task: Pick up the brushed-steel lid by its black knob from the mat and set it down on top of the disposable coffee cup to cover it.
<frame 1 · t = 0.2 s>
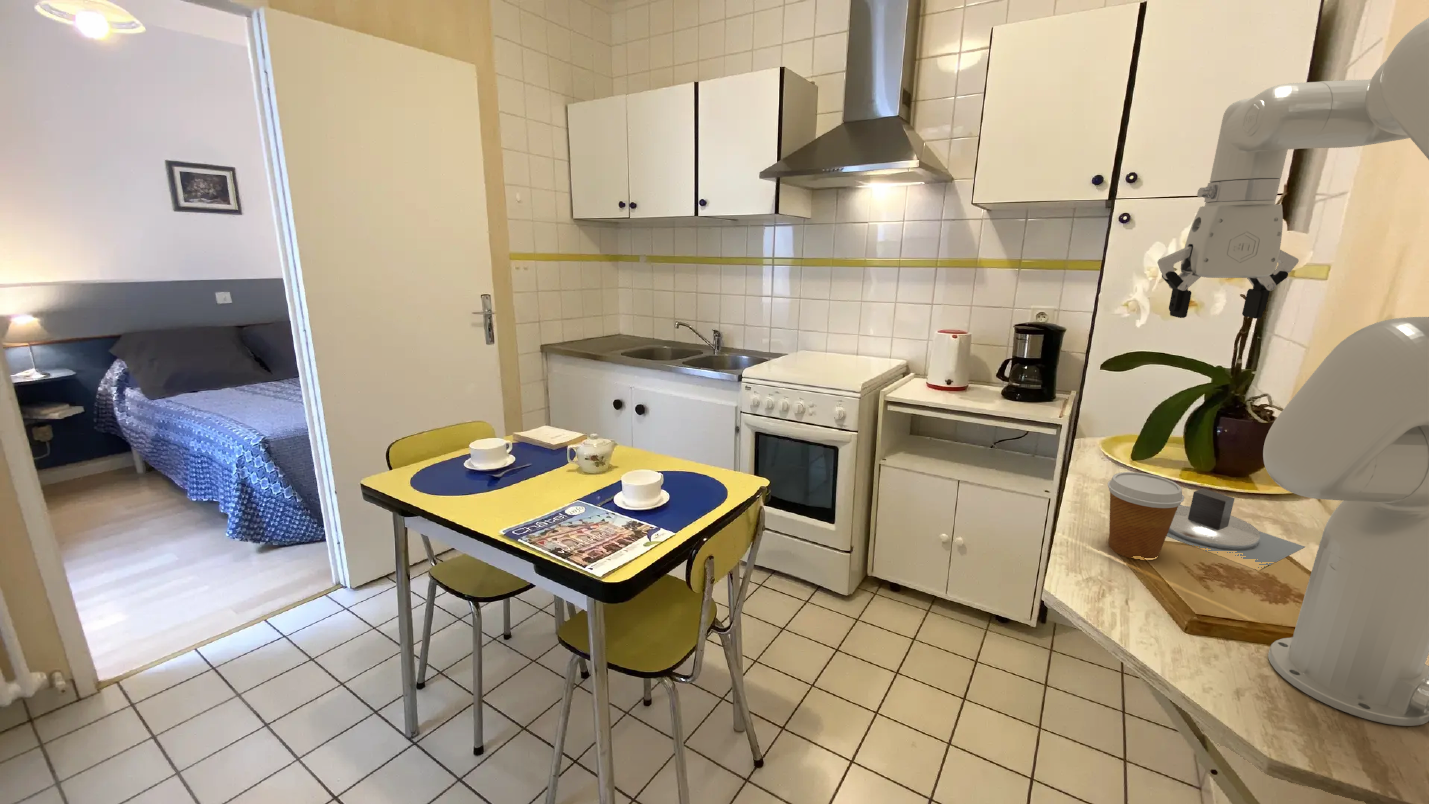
hand: (1214, 317, 87), 36 cm above the counter, tool pointing down, fingers open, 9 cm apart
mat: (1204, 534, 98), on the counter
disposable coffee cup: (1132, 554, 92), on the counter
lid: (1205, 530, 98), point 1 cm above the counter, touching mat
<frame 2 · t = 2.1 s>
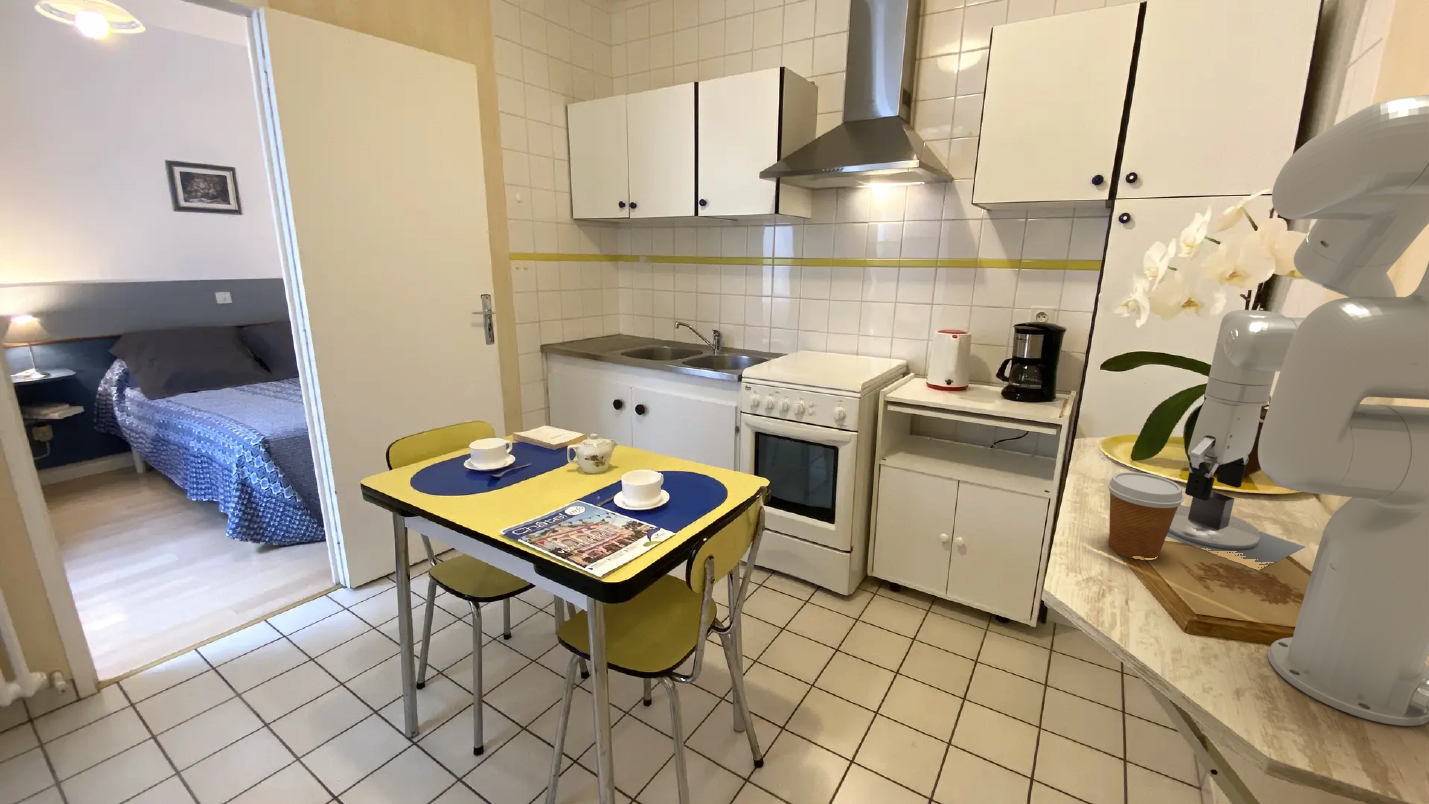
hand: (1212, 490, 97), 8 cm above the counter, tool pointing down, fingers open, 9 cm apart
nothing on the counter moved.
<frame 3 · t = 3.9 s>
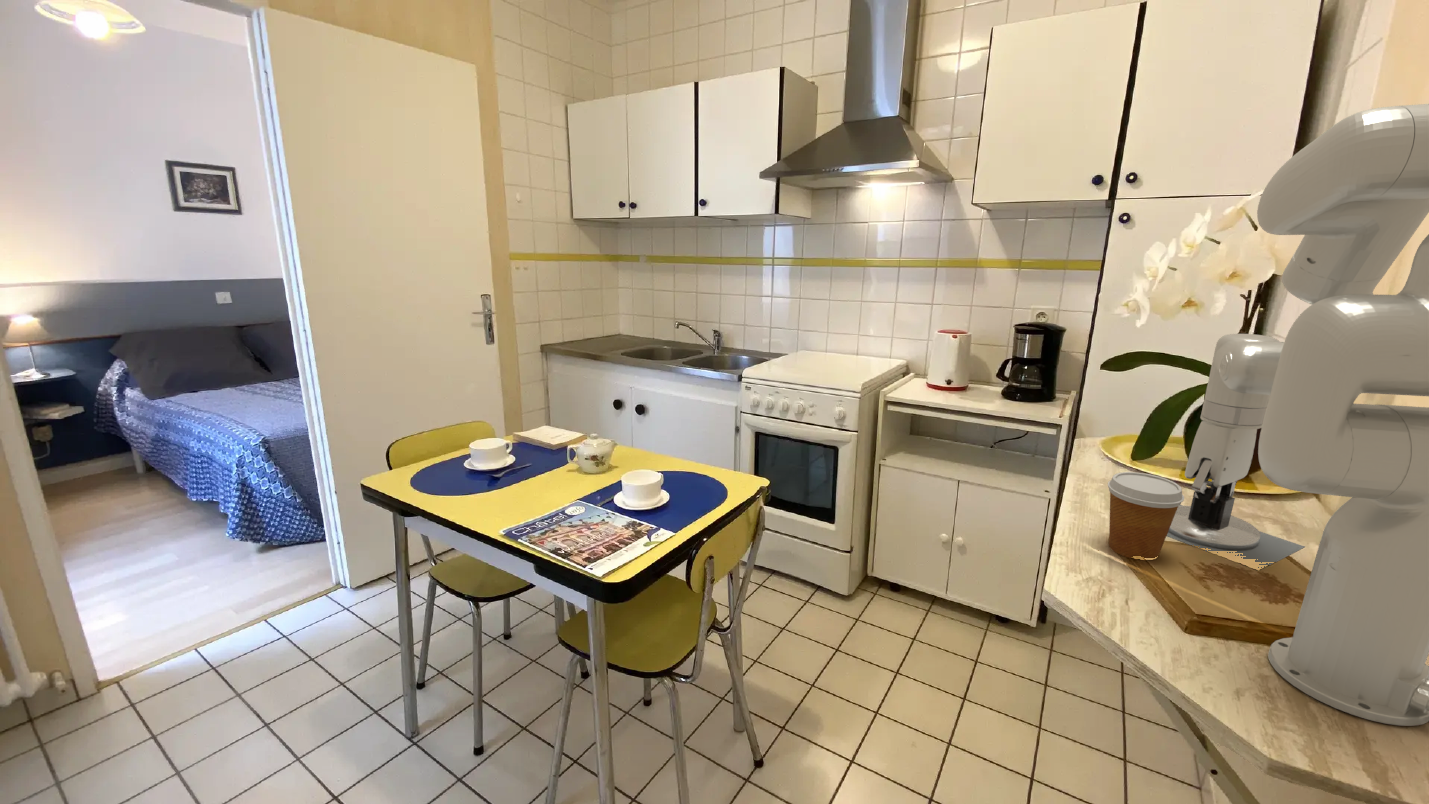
hand: (1208, 518, 97), 3 cm above the counter, tool pointing down, fingers closed on lid, 2 cm apart
lid: (1205, 530, 98), point 1 cm above the counter, touching gripper
everything else where it was.
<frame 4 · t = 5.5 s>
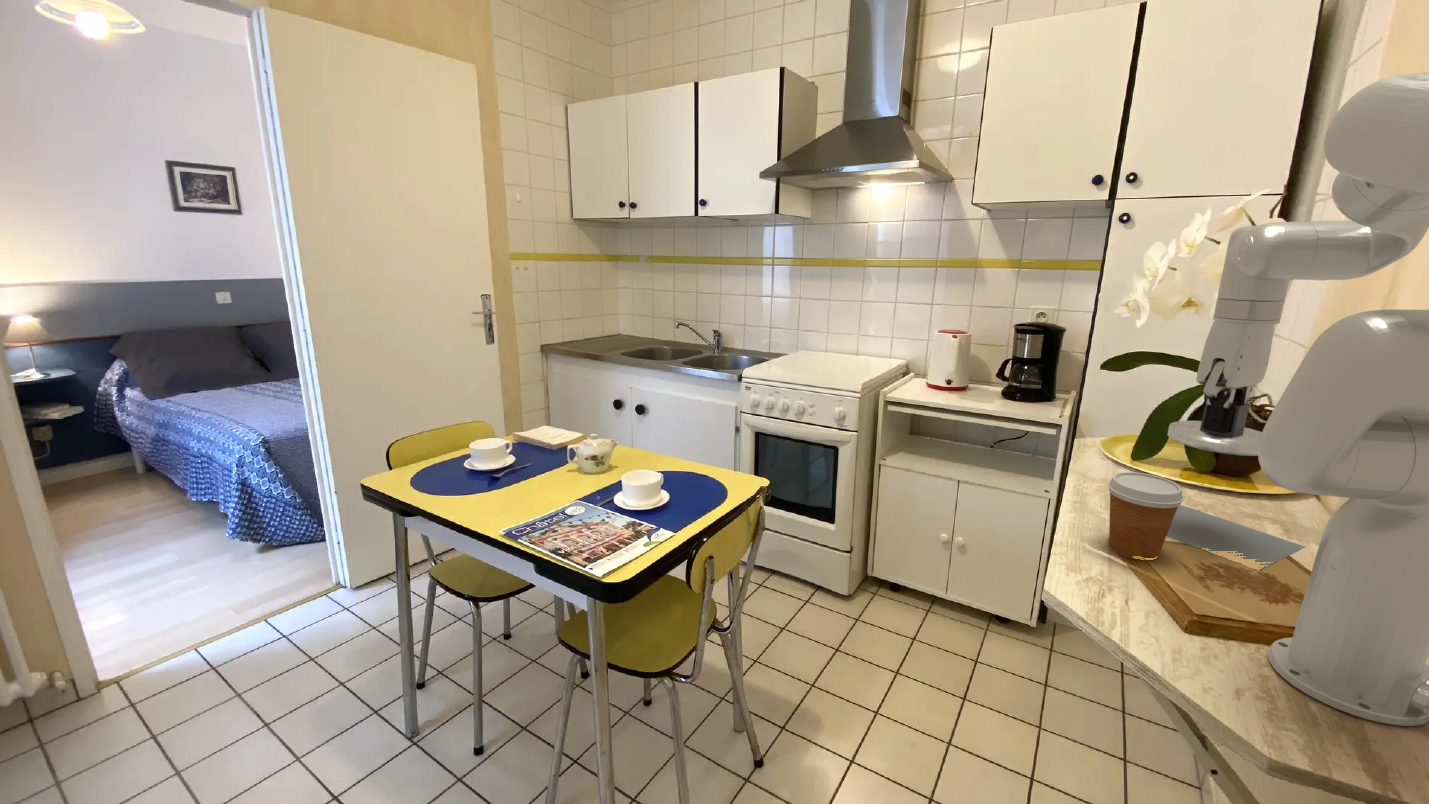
hand: (1221, 428, 92), 19 cm above the counter, tool pointing down, fingers closed on lid, 2 cm apart
lid: (1218, 441, 93), point 17 cm above the counter, touching gripper
everything else where it was.
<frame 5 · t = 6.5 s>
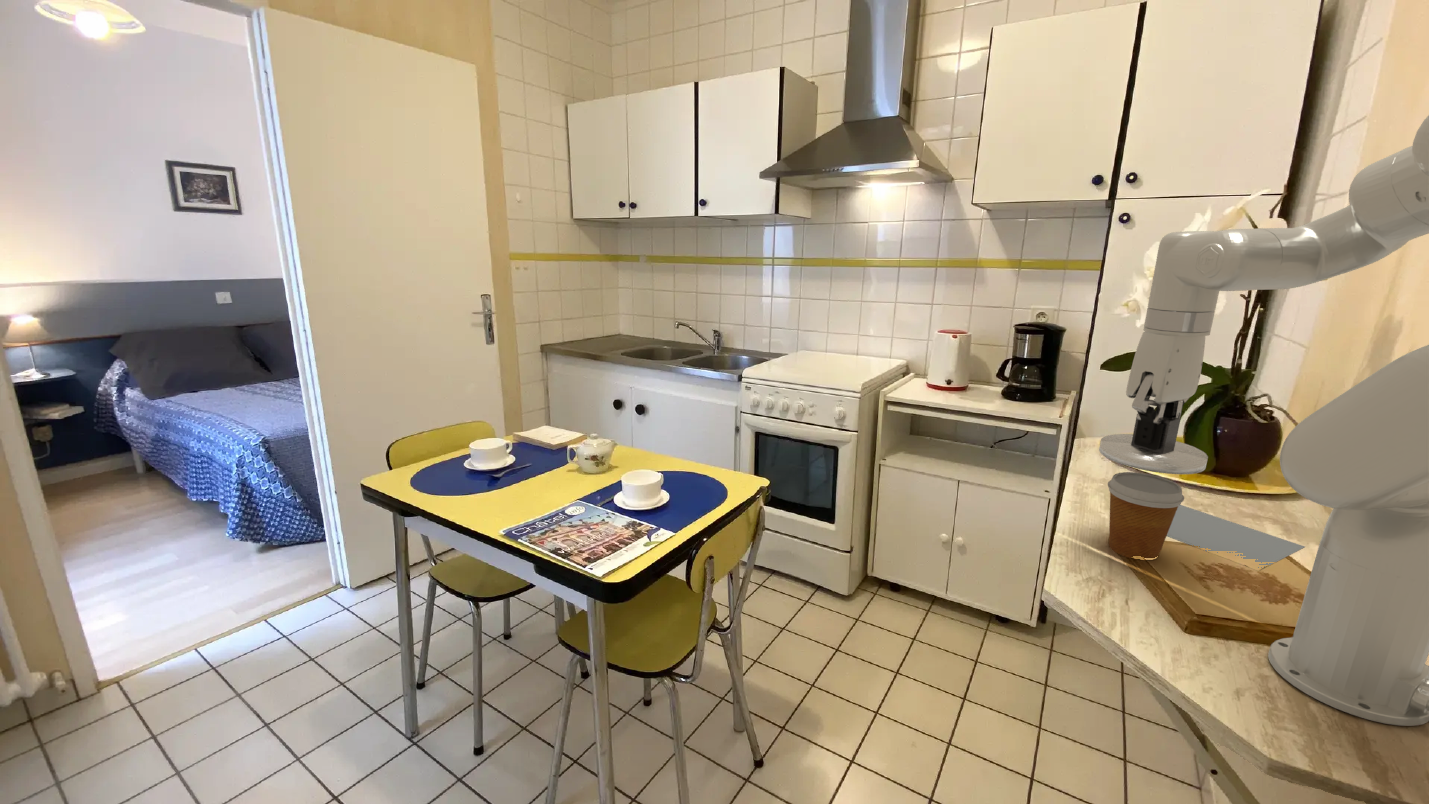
hand: (1153, 444, 88), 18 cm above the counter, tool pointing down, fingers closed on lid, 2 cm apart
lid: (1150, 457, 88), point 16 cm above the counter, touching gripper
everything else where it was.
when the fingers open (16 cm above the counter, at t = 7.4 s): lid drops 2 cm, resting on disposable coffee cup.
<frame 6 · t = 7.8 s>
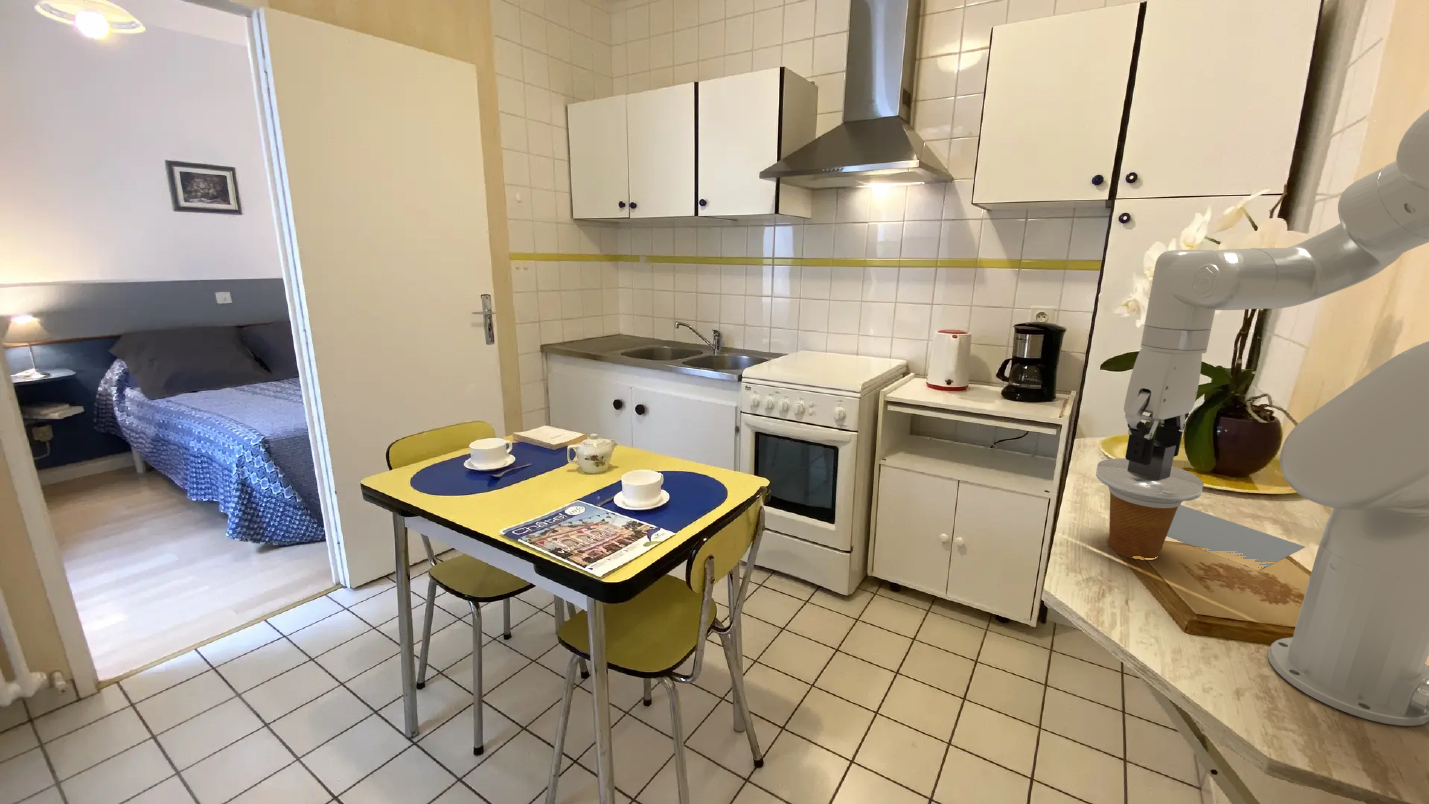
hand: (1151, 456, 88), 16 cm above the counter, tool pointing down, fingers open, 6 cm apart
disposable coffee cup: (1132, 554, 92), on the counter, touching lid
lid: (1146, 482, 89), point 12 cm above the counter, touching disposable coffee cup
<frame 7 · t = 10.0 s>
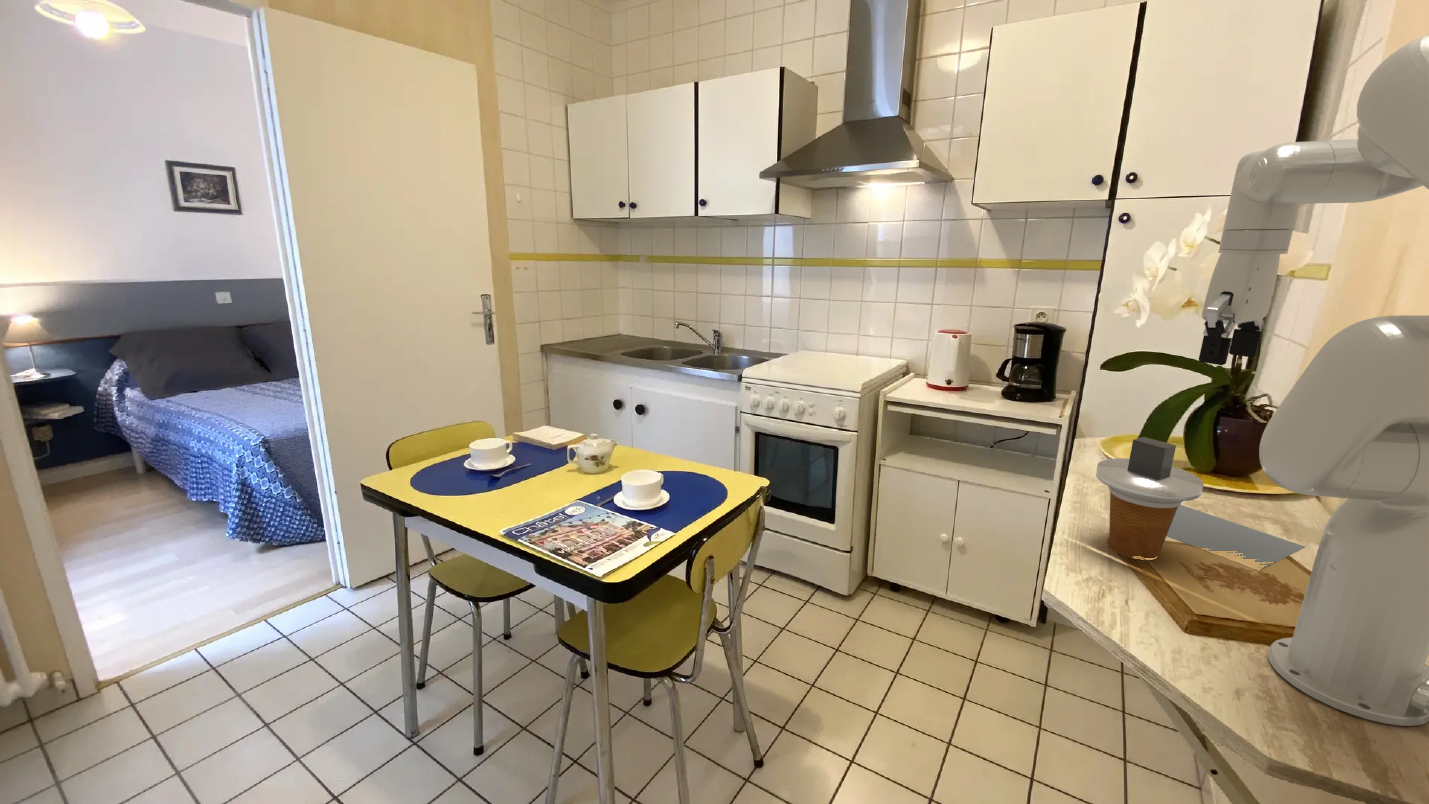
hand: (1227, 359, 89), 30 cm above the counter, tool pointing down, fingers open, 9 cm apart
nothing on the counter moved.
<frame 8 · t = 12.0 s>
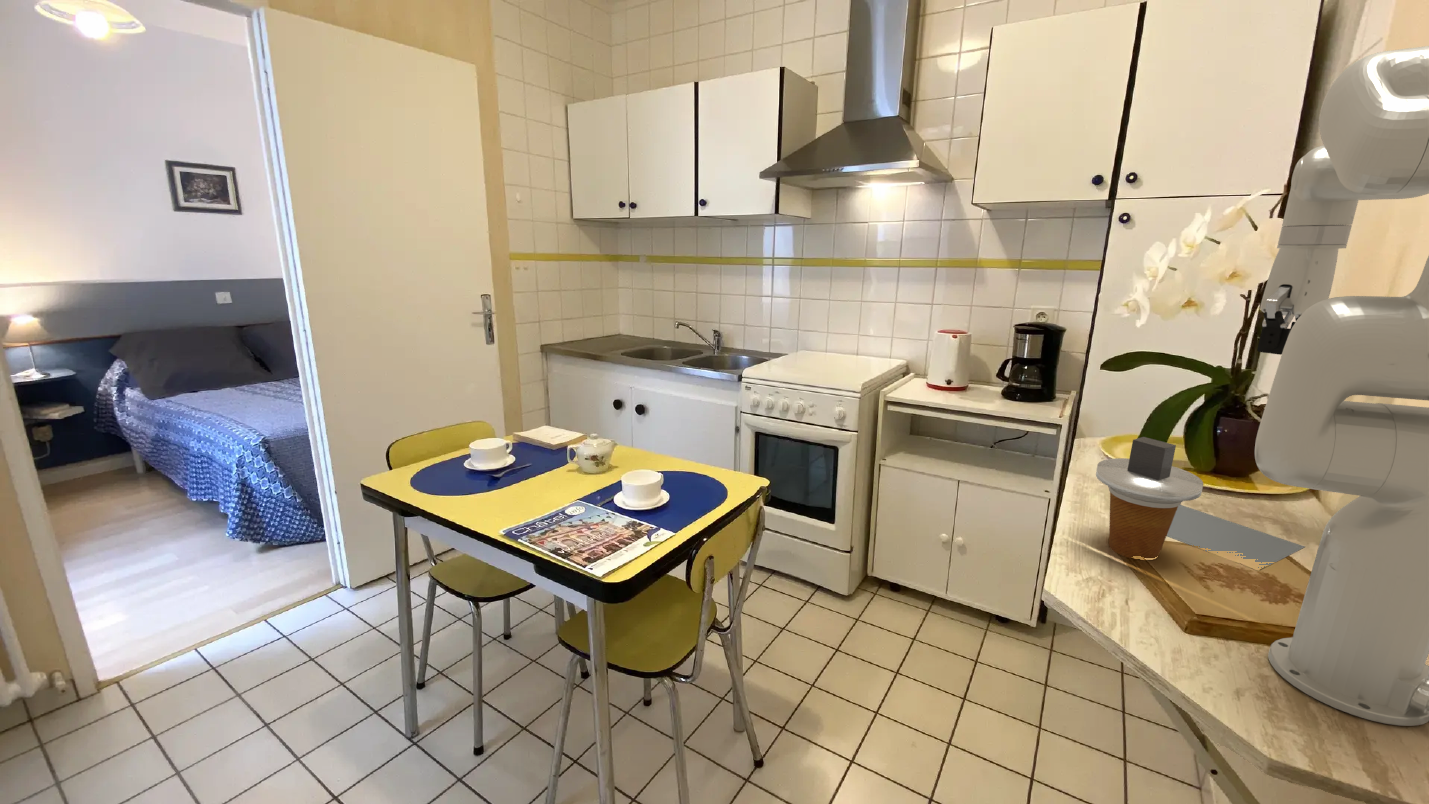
hand: (1285, 350, 93), 30 cm above the counter, tool pointing down, fingers open, 9 cm apart
nothing on the counter moved.
at the end: lid 0.1 cm off-centre on the disposable coffee cup, point 12.2 cm above the disposable coffee cup's base; disposable coffee cup tilted 0°; the gripper is holding nothing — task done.
